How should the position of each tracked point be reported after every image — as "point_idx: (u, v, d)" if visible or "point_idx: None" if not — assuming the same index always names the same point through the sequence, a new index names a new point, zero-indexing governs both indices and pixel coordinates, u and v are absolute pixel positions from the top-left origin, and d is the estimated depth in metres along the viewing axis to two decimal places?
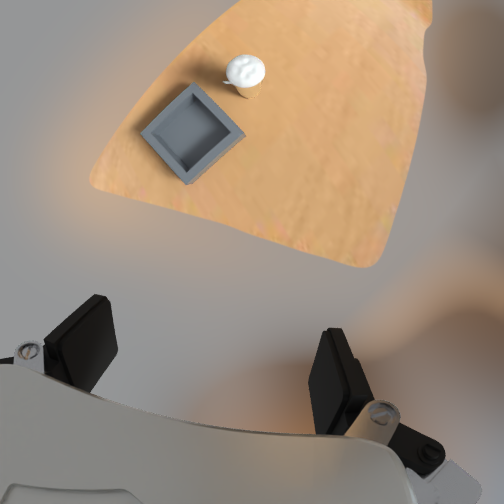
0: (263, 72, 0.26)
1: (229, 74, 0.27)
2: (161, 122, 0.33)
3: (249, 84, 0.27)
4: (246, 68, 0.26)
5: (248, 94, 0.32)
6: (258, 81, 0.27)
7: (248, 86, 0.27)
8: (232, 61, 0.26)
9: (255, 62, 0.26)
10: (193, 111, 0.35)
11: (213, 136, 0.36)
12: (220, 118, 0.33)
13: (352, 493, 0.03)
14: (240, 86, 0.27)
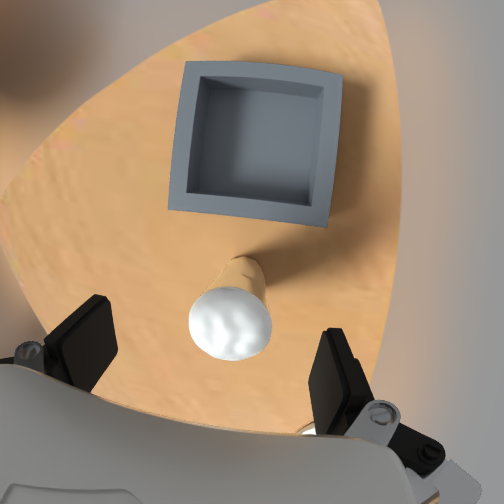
0: (197, 344, 0.14)
1: (245, 303, 0.13)
2: (321, 116, 0.15)
3: (195, 309, 0.14)
4: (222, 336, 0.14)
5: None
6: (189, 323, 0.14)
7: (195, 303, 0.14)
8: (262, 332, 0.14)
9: (221, 355, 0.14)
10: (292, 174, 0.19)
11: (224, 162, 0.19)
12: (222, 199, 0.17)
13: (352, 493, 0.03)
14: (208, 293, 0.14)
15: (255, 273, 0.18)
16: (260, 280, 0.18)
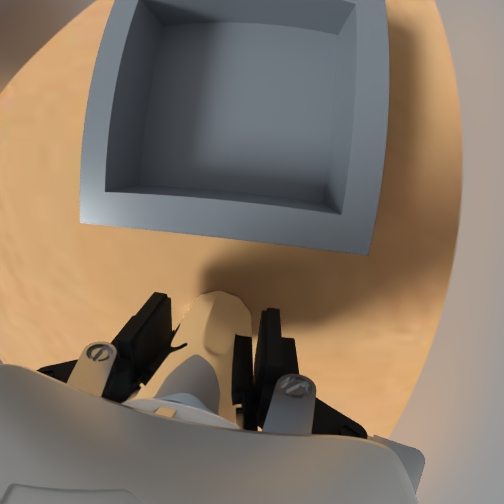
0: None
1: None
2: (356, 46, 0.07)
3: None
4: None
5: None
6: None
7: None
8: None
9: None
10: (299, 154, 0.11)
11: (181, 135, 0.11)
12: (165, 202, 0.08)
13: (352, 493, 0.03)
14: None
15: (233, 335, 0.10)
16: (243, 345, 0.10)
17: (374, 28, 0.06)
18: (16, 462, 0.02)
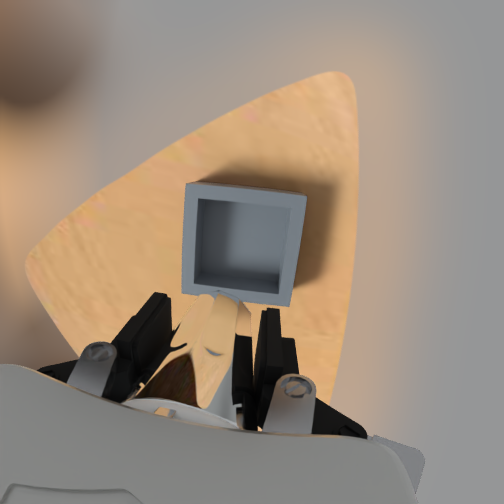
0: None
1: None
2: (288, 232, 0.24)
3: None
4: None
5: (177, 326, 0.11)
6: None
7: None
8: None
9: None
10: (268, 263, 0.28)
11: (219, 253, 0.28)
12: (218, 289, 0.25)
13: (352, 493, 0.03)
14: None
15: (233, 335, 0.10)
16: (243, 345, 0.10)
17: (297, 221, 0.23)
18: (16, 462, 0.02)
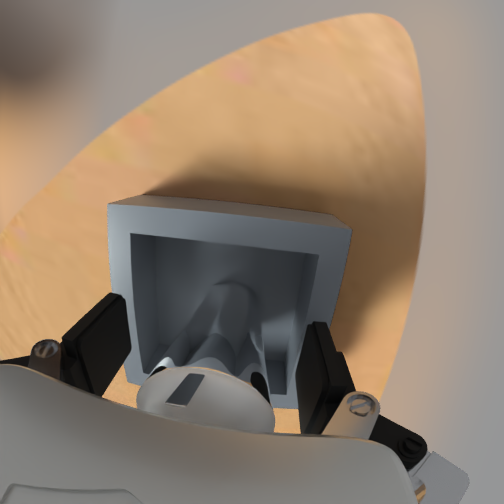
0: None
1: (226, 401, 0.06)
2: (309, 300, 0.12)
3: (142, 399, 0.07)
4: None
5: (194, 312, 0.12)
6: None
7: (142, 389, 0.07)
8: None
9: None
10: (269, 335, 0.16)
11: (185, 319, 0.16)
12: None
13: (352, 493, 0.03)
14: (159, 378, 0.07)
15: (246, 317, 0.11)
16: (254, 327, 0.11)
17: (330, 279, 0.11)
18: (16, 462, 0.02)
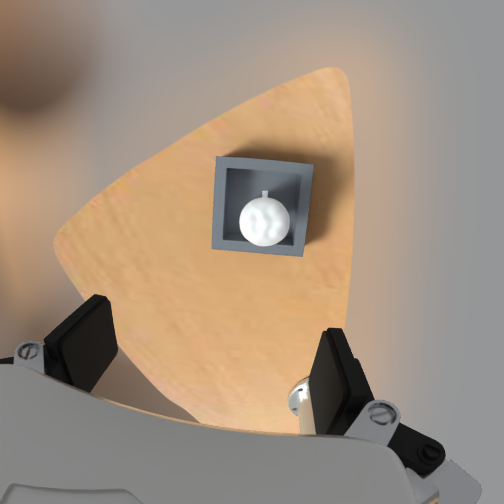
0: (244, 235, 0.25)
1: (274, 204, 0.24)
2: (299, 193, 0.29)
3: (244, 211, 0.24)
4: (262, 225, 0.24)
5: None
6: (240, 222, 0.25)
7: (244, 208, 0.24)
8: (284, 221, 0.24)
9: (261, 239, 0.24)
10: None
11: None
12: (243, 243, 0.31)
13: (352, 493, 0.03)
14: (252, 201, 0.24)
15: (274, 199, 0.28)
16: None
17: (306, 184, 0.28)
18: (16, 462, 0.02)
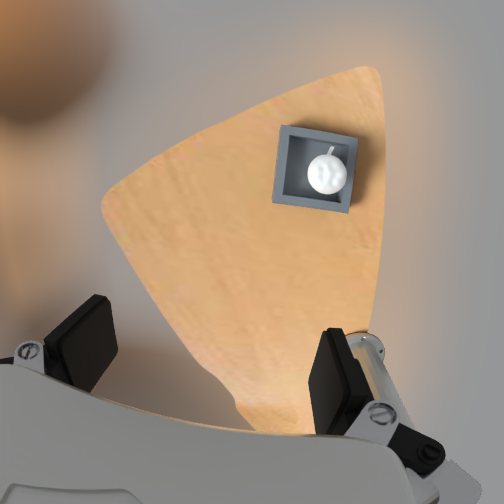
0: (312, 183, 0.29)
1: (336, 159, 0.28)
2: (347, 160, 0.33)
3: (313, 163, 0.29)
4: (327, 175, 0.28)
5: (309, 163, 0.34)
6: (308, 172, 0.29)
7: (312, 161, 0.29)
8: (344, 173, 0.28)
9: (325, 186, 0.29)
10: None
11: (295, 178, 0.37)
12: (300, 199, 0.35)
13: (352, 493, 0.03)
14: (318, 156, 0.29)
15: None
16: None
17: (352, 153, 0.33)
18: (16, 462, 0.02)
